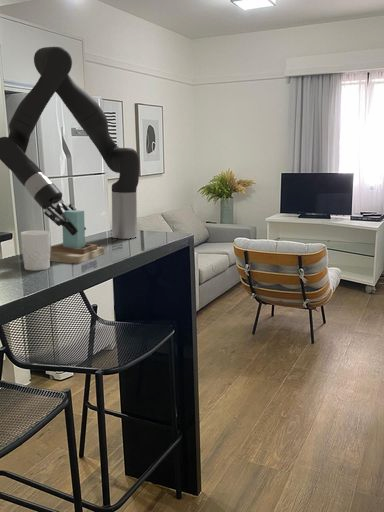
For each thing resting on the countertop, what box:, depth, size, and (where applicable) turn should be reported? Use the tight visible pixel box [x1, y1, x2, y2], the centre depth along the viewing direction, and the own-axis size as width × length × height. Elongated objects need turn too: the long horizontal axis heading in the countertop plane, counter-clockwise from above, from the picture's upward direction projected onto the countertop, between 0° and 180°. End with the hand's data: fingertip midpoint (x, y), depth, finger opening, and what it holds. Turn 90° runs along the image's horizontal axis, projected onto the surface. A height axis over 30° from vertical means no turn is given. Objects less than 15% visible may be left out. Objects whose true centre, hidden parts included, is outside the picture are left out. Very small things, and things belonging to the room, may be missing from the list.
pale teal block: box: [62, 209, 86, 248], centre depth 155 cm, size 4×5×11 cm
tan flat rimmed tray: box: [50, 242, 105, 265], centre depth 156 cm, size 16×12×4 cm
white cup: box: [20, 229, 52, 271], centre depth 140 cm, size 8×8×10 cm
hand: (79, 232), depth 154 cm, fingers closed on pale teal block, 4 cm apart
